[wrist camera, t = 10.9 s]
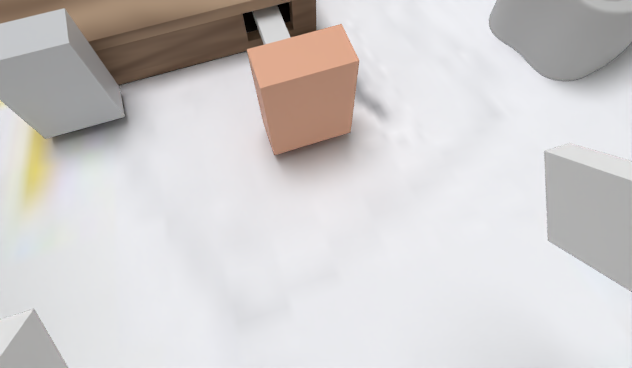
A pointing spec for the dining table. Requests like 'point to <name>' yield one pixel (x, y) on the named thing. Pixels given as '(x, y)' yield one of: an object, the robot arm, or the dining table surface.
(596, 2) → the lumpy-topped squat cylinder
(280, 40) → the peach rectangular block
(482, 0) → the dining table surface
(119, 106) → the grey plunger
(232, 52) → the plunger housing
